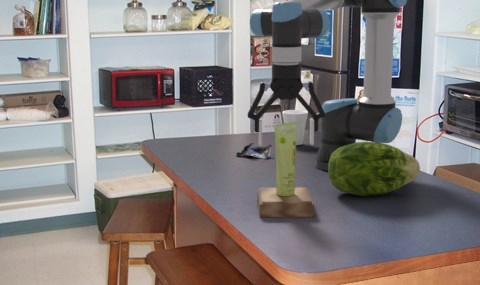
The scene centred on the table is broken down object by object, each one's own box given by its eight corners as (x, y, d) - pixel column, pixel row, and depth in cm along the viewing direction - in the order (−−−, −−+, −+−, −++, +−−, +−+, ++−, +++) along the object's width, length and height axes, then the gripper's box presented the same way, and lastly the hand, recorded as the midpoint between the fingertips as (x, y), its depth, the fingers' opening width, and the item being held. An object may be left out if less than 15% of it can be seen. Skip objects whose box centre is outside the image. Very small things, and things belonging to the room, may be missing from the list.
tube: (292, 198, 164) (293, 125, 160) (273, 196, 166) (274, 124, 162) (296, 192, 170) (297, 121, 166) (278, 190, 171) (279, 120, 167)
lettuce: (427, 200, 176) (431, 146, 173) (335, 203, 173) (337, 149, 170) (407, 185, 191) (410, 135, 187) (322, 188, 188) (323, 137, 184)
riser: (307, 200, 176) (307, 186, 175) (313, 216, 162) (314, 202, 161) (257, 200, 175) (257, 187, 175) (259, 217, 162) (259, 202, 161)
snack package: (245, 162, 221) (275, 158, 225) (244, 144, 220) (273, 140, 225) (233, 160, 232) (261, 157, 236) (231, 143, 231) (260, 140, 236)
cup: (308, 147, 243) (309, 113, 240) (282, 147, 243) (283, 113, 241) (306, 141, 253) (306, 109, 250) (281, 141, 253) (281, 109, 250)
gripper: (332, 61, 164) (330, 140, 169) (237, 62, 164) (238, 141, 169) (337, 64, 157) (335, 146, 162) (238, 65, 157) (239, 147, 161)
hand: (286, 144), depth 165 cm, fingers open, 13 cm apart
